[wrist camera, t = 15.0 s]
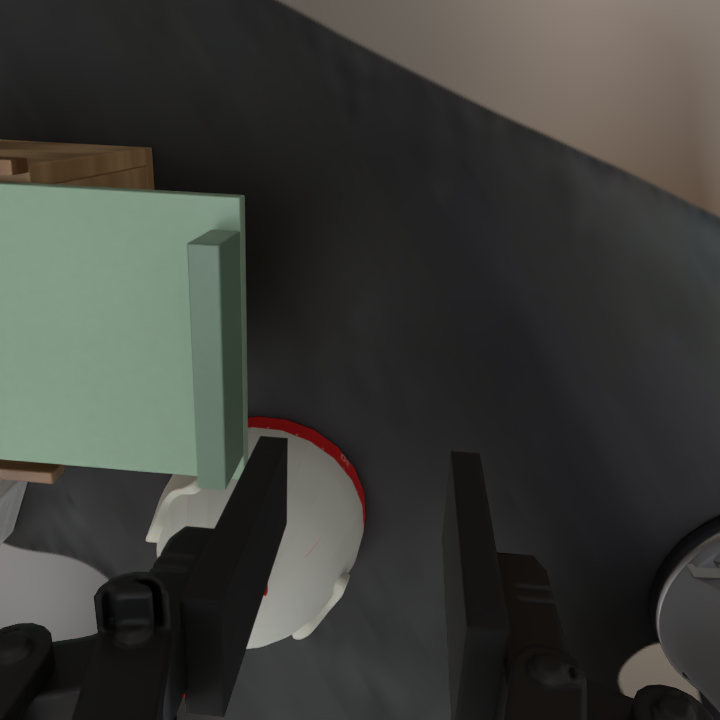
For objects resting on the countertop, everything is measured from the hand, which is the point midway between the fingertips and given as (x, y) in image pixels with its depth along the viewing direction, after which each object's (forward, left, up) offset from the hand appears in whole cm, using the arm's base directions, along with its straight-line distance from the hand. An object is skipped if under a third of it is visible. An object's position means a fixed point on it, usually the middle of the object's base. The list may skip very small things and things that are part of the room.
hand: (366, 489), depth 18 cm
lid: (+13, 0, -11) cm, 17 cm away
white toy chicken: (+8, +17, -25) cm, 31 cm away
